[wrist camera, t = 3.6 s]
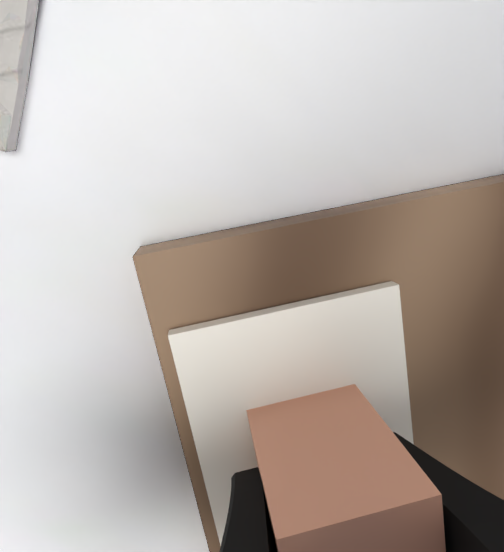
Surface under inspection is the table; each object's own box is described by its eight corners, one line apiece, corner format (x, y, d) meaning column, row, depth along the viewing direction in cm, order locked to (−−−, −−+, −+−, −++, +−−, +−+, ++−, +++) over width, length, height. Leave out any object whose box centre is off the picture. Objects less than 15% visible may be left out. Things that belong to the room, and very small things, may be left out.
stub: (392, 280, 11) (518, 346, 7) (417, 545, 13) (523, 718, 9) (168, 330, 10) (151, 434, 6) (235, 596, 13) (256, 807, 8)
